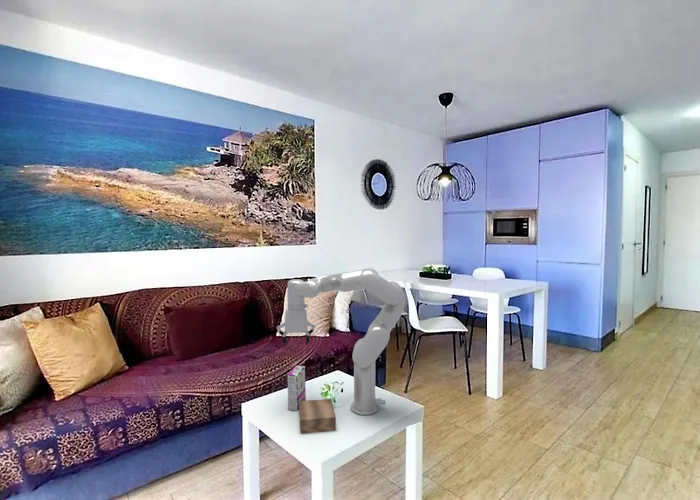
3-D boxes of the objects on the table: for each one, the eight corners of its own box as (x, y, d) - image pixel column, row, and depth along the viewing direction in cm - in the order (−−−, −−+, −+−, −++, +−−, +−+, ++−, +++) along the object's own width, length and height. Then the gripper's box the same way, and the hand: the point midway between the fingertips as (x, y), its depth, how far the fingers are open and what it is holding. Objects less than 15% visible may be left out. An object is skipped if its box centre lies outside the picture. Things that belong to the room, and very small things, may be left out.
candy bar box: (295, 399, 177) (295, 365, 176) (305, 400, 176) (305, 366, 175) (287, 410, 166) (286, 374, 165) (297, 411, 165) (297, 375, 164)
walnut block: (331, 411, 165) (331, 398, 165) (335, 431, 149) (335, 417, 149) (299, 414, 163) (299, 401, 163) (300, 434, 147) (300, 420, 147)
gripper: (314, 304, 173) (314, 341, 174) (276, 305, 170) (277, 342, 171) (315, 308, 165) (315, 346, 166) (276, 309, 162) (276, 348, 164)
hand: (296, 344), depth 169 cm, fingers open, 9 cm apart
